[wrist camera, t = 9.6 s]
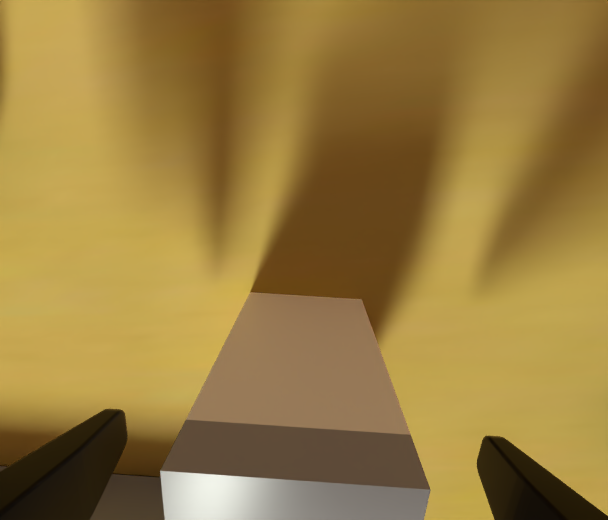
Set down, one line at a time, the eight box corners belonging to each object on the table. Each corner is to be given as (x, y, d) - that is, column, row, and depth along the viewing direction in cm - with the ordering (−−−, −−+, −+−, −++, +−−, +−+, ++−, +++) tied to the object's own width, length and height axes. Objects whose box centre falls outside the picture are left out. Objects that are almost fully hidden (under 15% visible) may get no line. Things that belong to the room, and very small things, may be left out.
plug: (361, 299, 11) (430, 490, 5) (350, 393, 13) (393, 655, 6) (249, 292, 11) (159, 471, 5) (249, 386, 13) (175, 638, 6)
